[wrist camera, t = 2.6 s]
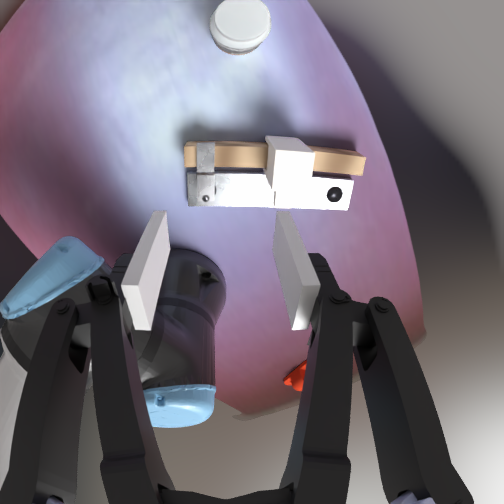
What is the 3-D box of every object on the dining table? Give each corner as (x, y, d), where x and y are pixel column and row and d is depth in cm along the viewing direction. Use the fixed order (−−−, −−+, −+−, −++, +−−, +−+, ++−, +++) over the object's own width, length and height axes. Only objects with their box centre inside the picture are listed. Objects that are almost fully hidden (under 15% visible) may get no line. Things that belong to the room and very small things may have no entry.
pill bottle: (227, 8, 22) (228, -20, 14) (271, 27, 24) (288, 7, 16) (204, 45, 25) (195, 29, 17) (248, 63, 27) (256, 55, 19)
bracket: (308, 356, 60) (312, 374, 56) (320, 359, 61) (325, 376, 57) (280, 380, 65) (283, 397, 61) (293, 382, 67) (296, 398, 62)
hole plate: (189, 203, 37) (188, 206, 36) (188, 171, 34) (187, 173, 33) (345, 207, 39) (347, 210, 38) (351, 178, 36) (354, 181, 35)
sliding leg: (261, 192, 36) (269, 219, 30) (265, 135, 32) (275, 149, 26) (290, 193, 37) (305, 220, 30) (297, 137, 32) (315, 152, 26)
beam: (187, 160, 33) (184, 167, 31) (187, 141, 32) (184, 146, 29) (353, 168, 35) (362, 175, 33) (356, 151, 34) (365, 157, 31)
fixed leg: (199, 194, 35) (197, 201, 33) (198, 139, 31) (196, 143, 29) (214, 194, 35) (214, 201, 33) (215, 139, 31) (214, 143, 29)
